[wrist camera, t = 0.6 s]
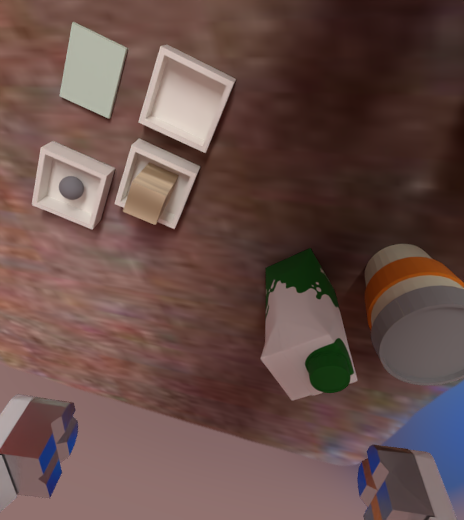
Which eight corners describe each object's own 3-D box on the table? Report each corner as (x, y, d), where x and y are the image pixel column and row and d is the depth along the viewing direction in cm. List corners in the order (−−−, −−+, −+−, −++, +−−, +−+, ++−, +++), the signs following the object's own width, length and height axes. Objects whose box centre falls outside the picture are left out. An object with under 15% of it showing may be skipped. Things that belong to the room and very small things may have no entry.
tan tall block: (148, 161, 48) (131, 181, 42) (178, 175, 48) (166, 196, 42) (139, 189, 50) (121, 211, 44) (168, 202, 50) (155, 225, 44)
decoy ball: (67, 169, 49) (56, 176, 47) (90, 178, 50) (80, 186, 47) (63, 188, 51) (52, 197, 48) (85, 198, 51) (75, 207, 49)
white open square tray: (167, 44, 41) (160, 46, 39) (236, 79, 42) (233, 82, 40) (145, 116, 45) (138, 122, 43) (208, 146, 47) (205, 153, 44)
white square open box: (53, 141, 48) (40, 147, 45) (115, 168, 49) (106, 176, 46) (43, 196, 52) (31, 204, 49) (100, 219, 53) (92, 229, 51)
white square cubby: (139, 138, 47) (131, 145, 44) (200, 166, 48) (196, 174, 45) (122, 194, 51) (114, 203, 48) (179, 219, 52) (174, 229, 50)
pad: (74, 22, 41) (72, 22, 40) (128, 48, 42) (126, 48, 41) (61, 95, 45) (59, 96, 44) (110, 117, 46) (108, 118, 45)
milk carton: (339, 285, 56) (369, 399, 39) (283, 308, 59) (289, 422, 42) (313, 239, 52) (334, 342, 35) (256, 265, 55) (249, 372, 38)
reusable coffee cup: (421, 312, 57) (465, 395, 44) (339, 298, 57) (360, 376, 44) (461, 241, 50) (526, 313, 38) (369, 224, 50) (403, 291, 37)
